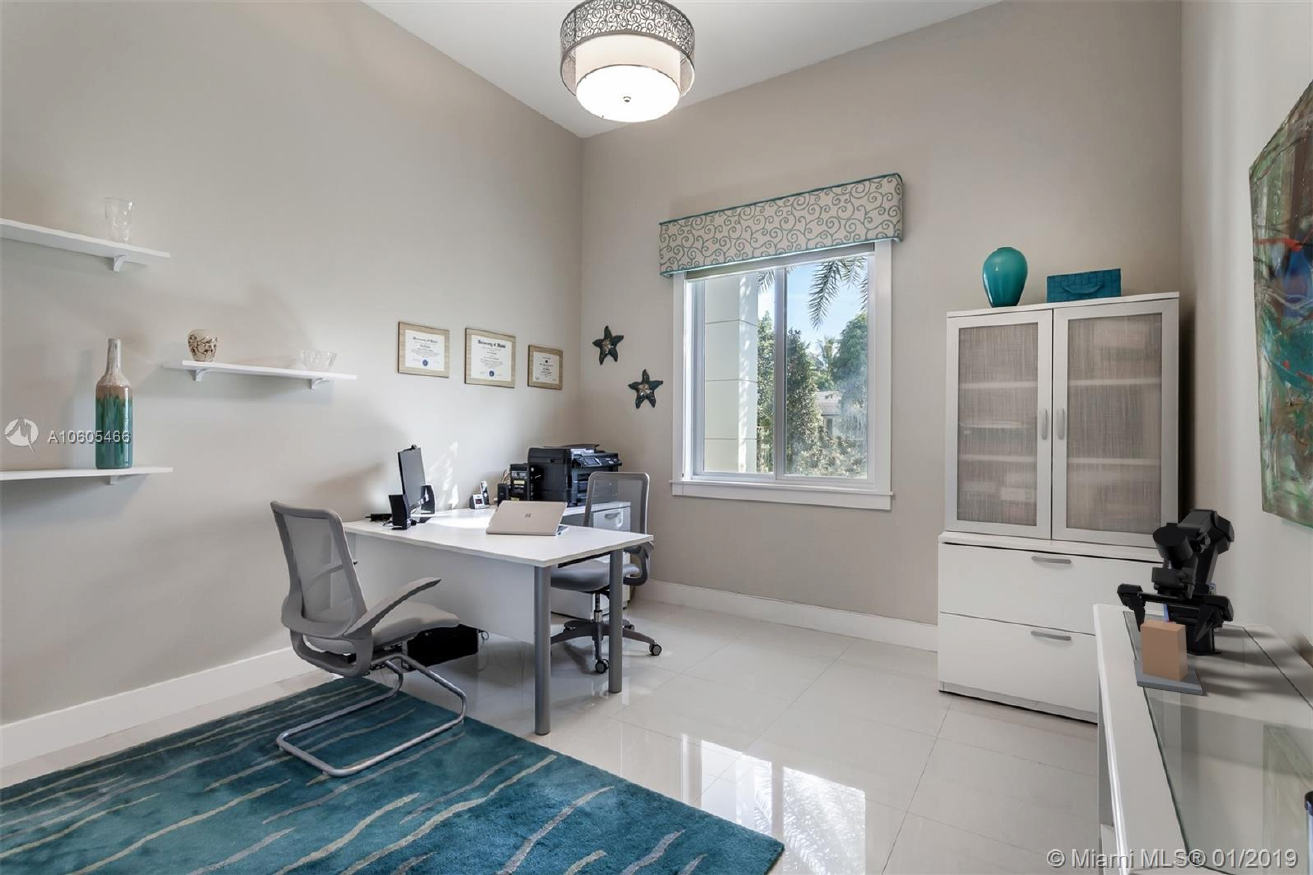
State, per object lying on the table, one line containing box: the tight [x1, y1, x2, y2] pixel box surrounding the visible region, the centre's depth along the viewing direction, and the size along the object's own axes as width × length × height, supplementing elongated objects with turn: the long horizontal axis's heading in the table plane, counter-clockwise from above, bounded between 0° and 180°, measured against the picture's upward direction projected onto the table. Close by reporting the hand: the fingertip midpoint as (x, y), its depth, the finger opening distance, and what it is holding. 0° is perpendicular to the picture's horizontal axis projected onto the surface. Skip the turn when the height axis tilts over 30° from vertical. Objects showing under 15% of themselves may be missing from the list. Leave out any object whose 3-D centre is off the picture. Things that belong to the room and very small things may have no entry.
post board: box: [1133, 658, 1203, 696], centre depth 128 cm, size 14×10×4 cm
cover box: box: [1140, 619, 1188, 681], centre depth 128 cm, size 6×6×10 cm
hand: (1166, 635), depth 129 cm, fingers open, 9 cm apart
